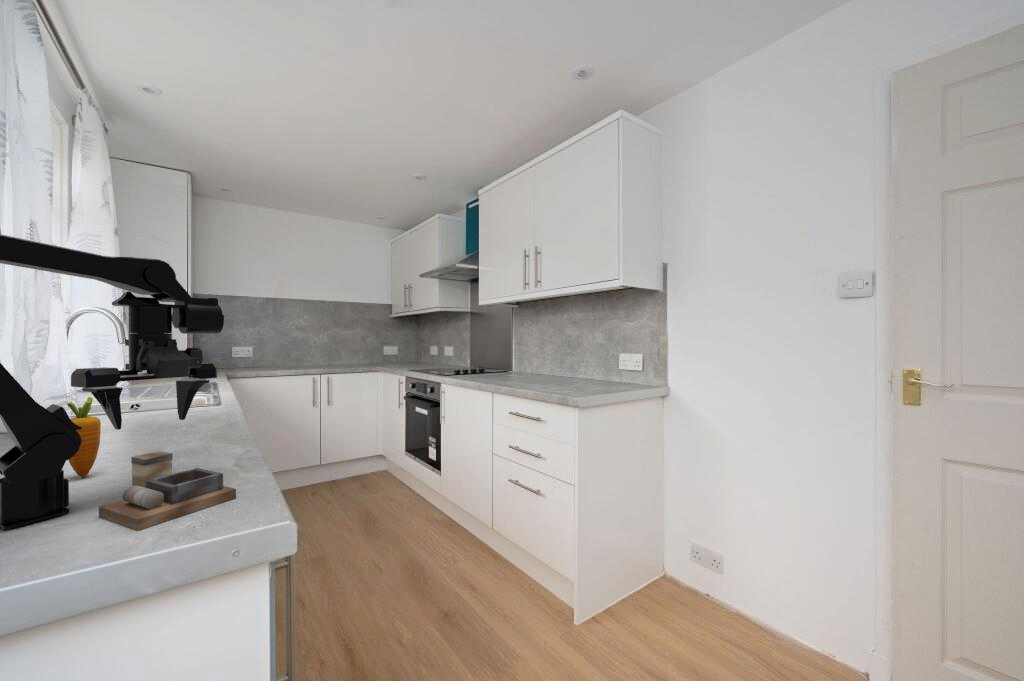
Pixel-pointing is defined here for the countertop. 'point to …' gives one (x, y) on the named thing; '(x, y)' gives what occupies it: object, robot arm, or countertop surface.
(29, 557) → the countertop surface
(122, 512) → the base
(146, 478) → the beige banded block
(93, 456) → the carrot
